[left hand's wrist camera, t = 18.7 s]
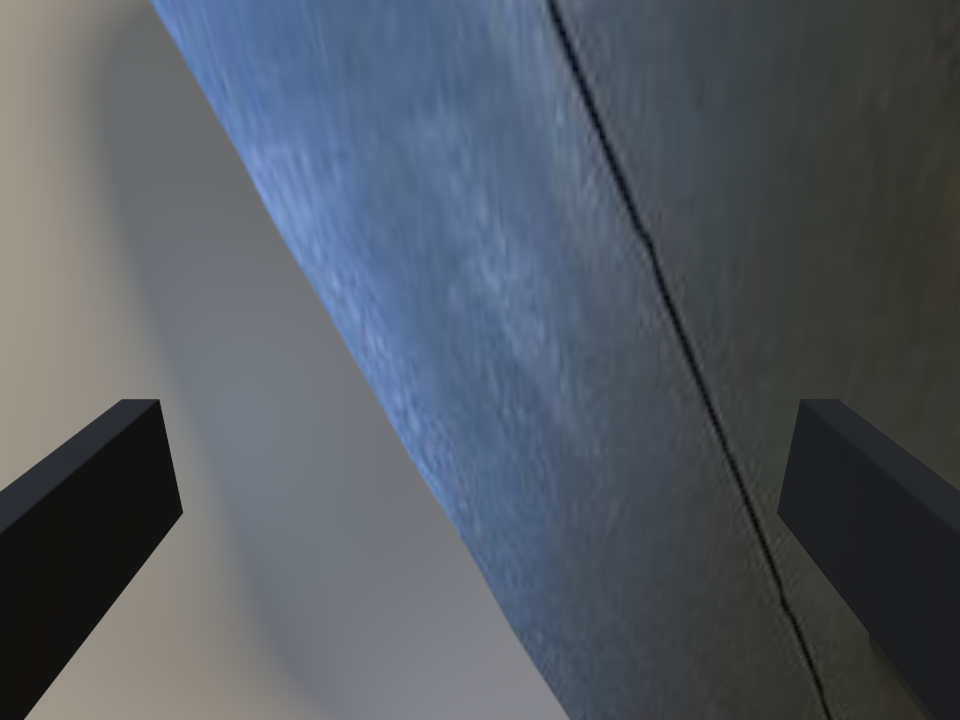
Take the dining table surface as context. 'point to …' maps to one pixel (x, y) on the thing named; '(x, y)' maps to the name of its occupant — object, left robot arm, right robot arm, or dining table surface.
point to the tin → (901, 680)
